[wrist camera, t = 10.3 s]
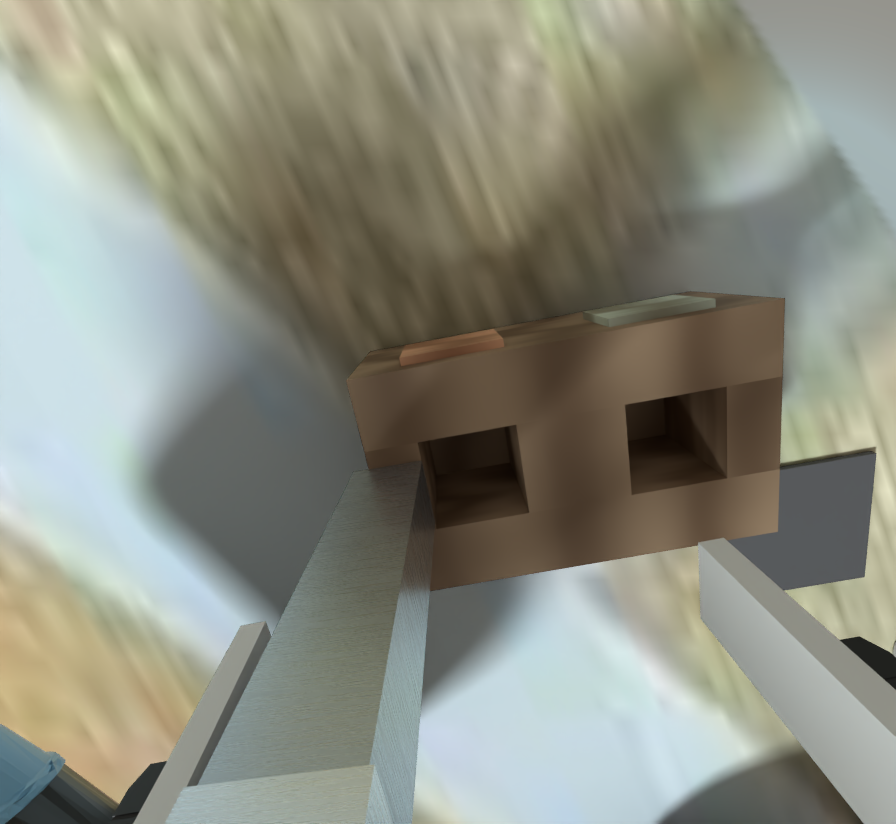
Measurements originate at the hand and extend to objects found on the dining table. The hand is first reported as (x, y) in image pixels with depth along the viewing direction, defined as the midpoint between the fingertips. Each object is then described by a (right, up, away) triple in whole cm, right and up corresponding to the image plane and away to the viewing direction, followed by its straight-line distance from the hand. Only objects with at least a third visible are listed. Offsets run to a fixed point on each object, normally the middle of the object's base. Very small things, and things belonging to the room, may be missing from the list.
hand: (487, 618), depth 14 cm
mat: (+24, -2, +19) cm, 31 cm away
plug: (-4, +2, +9) cm, 10 cm away
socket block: (+5, +6, +16) cm, 18 cm away
